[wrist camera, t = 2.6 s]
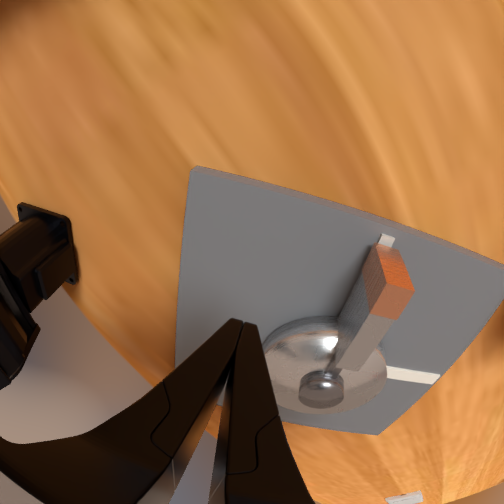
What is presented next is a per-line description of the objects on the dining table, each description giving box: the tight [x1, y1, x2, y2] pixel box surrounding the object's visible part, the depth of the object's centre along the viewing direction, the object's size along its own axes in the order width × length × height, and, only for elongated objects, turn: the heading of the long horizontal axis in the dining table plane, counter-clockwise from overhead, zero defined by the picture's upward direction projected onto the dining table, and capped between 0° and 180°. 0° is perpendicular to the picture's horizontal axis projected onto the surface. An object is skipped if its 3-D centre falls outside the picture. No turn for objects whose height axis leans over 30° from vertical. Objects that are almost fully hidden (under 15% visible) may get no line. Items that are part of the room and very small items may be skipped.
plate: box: [175, 166, 504, 435], centre depth 21 cm, size 22×22×1 cm
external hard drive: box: [386, 490, 423, 504], centre depth 45 cm, size 2×8×12 cm
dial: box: [263, 242, 415, 414], centre depth 18 cm, size 15×9×4 cm, turn 168°
